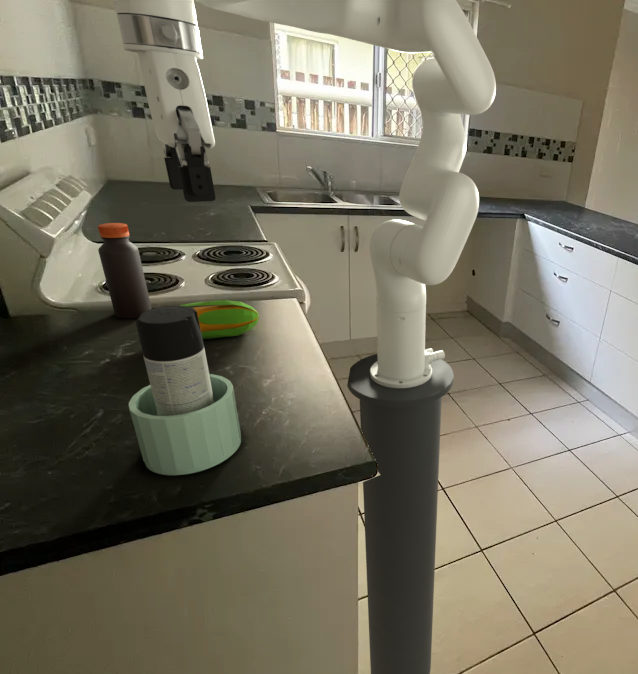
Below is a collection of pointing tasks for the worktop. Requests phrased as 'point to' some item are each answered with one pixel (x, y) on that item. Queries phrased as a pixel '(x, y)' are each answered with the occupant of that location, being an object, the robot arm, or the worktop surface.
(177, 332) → the spray can
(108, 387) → the worktop surface
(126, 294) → the bottle
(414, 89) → the robot arm
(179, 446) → the cup
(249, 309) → the corn
